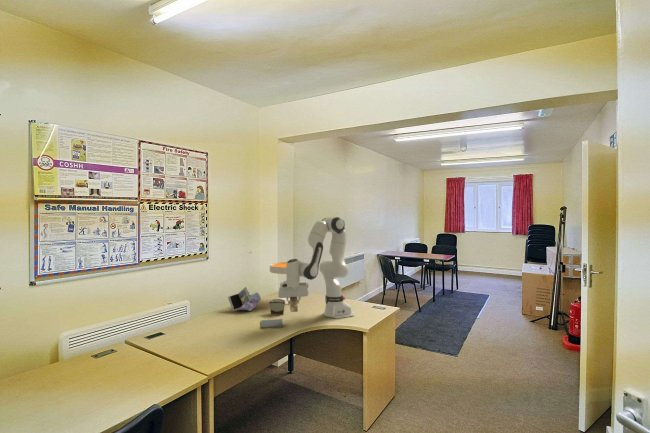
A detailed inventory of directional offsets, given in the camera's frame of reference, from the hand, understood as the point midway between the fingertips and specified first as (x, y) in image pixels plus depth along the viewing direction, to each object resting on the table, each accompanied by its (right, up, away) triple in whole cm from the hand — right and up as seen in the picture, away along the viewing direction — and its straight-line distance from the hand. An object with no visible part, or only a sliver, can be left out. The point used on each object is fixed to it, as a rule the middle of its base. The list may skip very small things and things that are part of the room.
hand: (293, 303), depth 226 cm
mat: (-14, -13, -4) cm, 20 cm away
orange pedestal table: (-10, -13, +54) cm, 56 cm away
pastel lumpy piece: (-40, -13, +30) cm, 52 cm away
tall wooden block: (0, -5, 0) cm, 5 cm away
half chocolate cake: (-14, -13, +21) cm, 28 cm away
